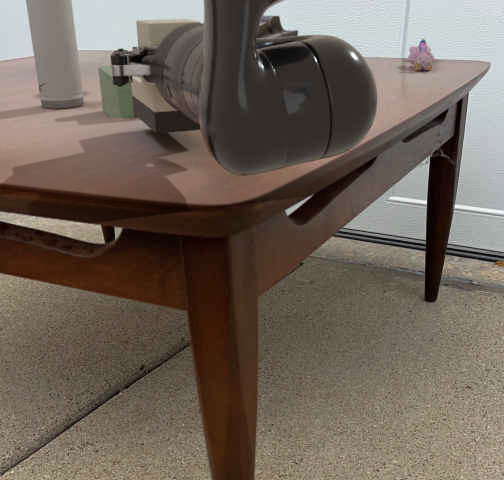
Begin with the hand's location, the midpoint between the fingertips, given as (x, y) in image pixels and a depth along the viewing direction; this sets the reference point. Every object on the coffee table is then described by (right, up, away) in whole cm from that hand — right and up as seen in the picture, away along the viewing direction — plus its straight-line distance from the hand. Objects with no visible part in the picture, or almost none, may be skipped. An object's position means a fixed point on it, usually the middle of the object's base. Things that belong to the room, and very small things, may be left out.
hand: (163, 56), depth 70 cm
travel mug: (-20, +4, +34) cm, 39 cm away
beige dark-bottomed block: (0, -6, +3) cm, 7 cm away
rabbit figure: (+42, +21, +67) cm, 82 cm away
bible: (+7, +23, +73) cm, 77 cm away
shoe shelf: (-2, +1, +25) cm, 25 cm away
